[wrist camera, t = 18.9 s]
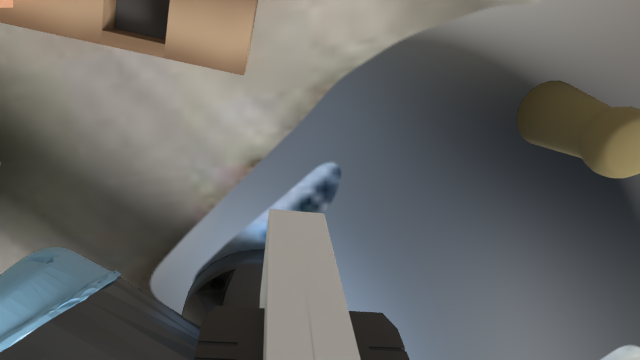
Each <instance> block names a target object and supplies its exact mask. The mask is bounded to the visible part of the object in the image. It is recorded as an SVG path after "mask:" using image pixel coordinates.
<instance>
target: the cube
mask: <svg viewBox="0 0 640 360" xmlns="http://www.w3.org/2000/svg"><path fill="white" fill-rule="evenodd" d="M0 8H13V0H0Z"/></svg>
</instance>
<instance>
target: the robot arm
mask: <svg viewBox="0 0 640 360" xmlns="http://www.w3.org/2000/svg"><path fill="white" fill-rule="evenodd" d="M121 275H122V274H120V273H119V272H117V271H109V270H107V269H105V268H104V267H102V266H100V265H98V264H96V263H94V262H92V261H91V260H89V259H87V258H85V257H83V256H81V255H79V254H78V253H76V252H74V251H72V250H69V249H66V248H62V247H49V248H44V249H41V250H38V251H36V252H33V253H31V254H30V255H28V256H26V257H24V258H23V259H21V260H20V261H18V262H17V263H16V264H14V265H13V266H12V267H10V268H9V269H8V270H6V271H5V272H4V273H2V274H1V275H0V360H409V357H408V355H407V352H405V347H404V345H403V342H402V339H401V337H400V334H399V332H398V329H397V328H396V327H395V326H394V325H393V324H392V323H391V322H390V321H389V320H388V319H387V318H386V316H385V315H384V314H383V313H375V312H356V311H348V308H347V303H346V299H345V295H344V291H343V287H342V283H341V279H340V275H339V271H338V267H337V263H336V259H335V255H334V251H333V248H332V243H331V240H330V236H329V232H328V228H327V223H326V219H325V215H324V214H323V213H311V212H299V211H287V210H275V209H269V216H268V226H267V235H266V244H265V250H251V251H244V252H239V253H235V254H232V255H229V256H227V257H224V258H222V259H220V260H218V261H216V262H215V263H213V264H212V265H210V266H209V267H208V268H206V269H205V270H204V271H203V272H202V273H201V274H200V275H199V276H198V277H197V279H196V280H195V281H194V283H193V284H192V286H191V288H190V290H189V292H188V295H187V298H186V301H185V305H184V308H183V311H182V315H180V314H179V313H177V312H175V311H174V310H172V309H170V308H169V307H167V306H166V305H164V304H162V303H161V302H159V301H158V300H156V299H154V298H153V297H151V296H150V295H148V294H146V293H145V292H143V291H141V290H140V289H138V288H137V287H135V286H133V285H132V284H130V283H129V282H127V281H125V280H124V279H122V278H121V277H120V276H121Z"/></svg>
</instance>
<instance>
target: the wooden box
mask: <svg viewBox="0 0 640 360" xmlns="http://www.w3.org/2000/svg"><path fill="white" fill-rule="evenodd" d="M257 3H258V0H13V8H0V22H1V23H5V24H10V25H15V26H19V27H24V28H28V29H33V30H38V31H42V32H47V33H51V34H56V35H61V36H65V37H70V38H74V39H79V40H84V41H88V42H93V43H97V44H102V45H107V46H111V47H116V48H120V49H125V50H130V51H134V52H139V53H143V54H148V55H153V56H157V57H162V58H166V59H171V60H176V61H180V62H185V63H189V64H194V65H199V66H203V67H208V68H212V69H217V70H222V71H226V72H231V73H235V74H240V75H244V73H245V71H246V68H247V62H248V56H249V50H250V44H251V38H252V32H253V27H254V21H255V15H256V9H257ZM117 28H118V29H117ZM121 29H122V30H121ZM126 30H127V31H126ZM130 31H131V32H130ZM135 32H136V33H135ZM139 33H140V34H139ZM148 35H149V36H148ZM157 37H158V38H157Z"/></svg>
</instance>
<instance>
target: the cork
mask: <svg viewBox="0 0 640 360" xmlns="http://www.w3.org/2000/svg"><path fill="white" fill-rule="evenodd" d="M517 125H518V129H519V131H520V133H521V135H522V137H523V138H525V139H526V140H527V141H528V142H530V143H533V144H536V145H539V146H542V147H546V148H549V149H553V150H556V151H560V152H563V153H567V154H570V155H573V156H577V157H580V158H582V159H583V161H584V162H585V163H586V165H587V166H589V167H590V168H591V169H592V170H593V171H594V172H596V173H598V174H600V175H603V176H606V177H611V178H626V177H630V176H633V175H636V174H639V173H640V109H637V108H634V107H613V108H612V107H610V106H608V105H607V104H605V103H603V102H601V101H599V100H597V99H596V98H594V97H592V96H590V95H588V94H586V93H584V92H582V91H581V90H579V89H577V88H575V87H574V86H572V85H570V84H567V83H565V82H562V81H548V82H545V83H542V84H540V85H538V86H537V87H535V88H534V89H532V90H531V91H530V92H529V93H528V94H527V95H526V96H525V98H524V99H523V101H522V103H521V105H520V107H519V109H518V114H517Z"/></svg>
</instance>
